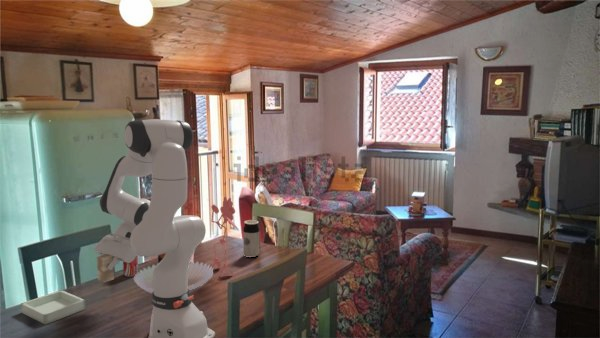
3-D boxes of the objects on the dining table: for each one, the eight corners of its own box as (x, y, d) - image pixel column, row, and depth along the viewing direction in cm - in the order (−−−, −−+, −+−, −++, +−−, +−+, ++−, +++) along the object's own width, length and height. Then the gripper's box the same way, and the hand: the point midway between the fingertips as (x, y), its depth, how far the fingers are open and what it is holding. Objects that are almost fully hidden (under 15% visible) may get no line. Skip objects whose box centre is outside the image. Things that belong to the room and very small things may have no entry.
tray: (85, 308, 168) (85, 300, 168) (45, 324, 156) (44, 314, 155) (62, 298, 177) (61, 290, 177) (21, 312, 165) (20, 303, 164)
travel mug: (252, 252, 238) (253, 219, 235) (262, 256, 232) (262, 222, 229) (240, 255, 232) (240, 221, 230) (249, 259, 227) (249, 224, 224)
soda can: (133, 277, 200) (132, 251, 198) (120, 276, 201) (119, 250, 199) (140, 272, 206) (140, 247, 204) (128, 271, 207) (127, 246, 205)
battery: (162, 270, 209) (162, 249, 208) (157, 266, 215) (157, 246, 213) (171, 268, 212) (171, 248, 210) (167, 264, 217) (166, 244, 216)
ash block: (113, 279, 171) (112, 256, 170) (104, 282, 168) (103, 258, 167) (107, 277, 173) (106, 254, 172) (97, 280, 170) (96, 256, 169)
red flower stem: (225, 283, 195) (227, 203, 191) (201, 266, 216) (202, 193, 212) (256, 277, 204) (258, 200, 200) (231, 261, 225) (232, 191, 221)
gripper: (103, 228, 180) (81, 258, 173) (136, 235, 169) (114, 268, 162) (114, 236, 184) (93, 266, 177) (147, 244, 173) (126, 276, 166)
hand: (103, 267), depth 169 cm, fingers closed on ash block, 4 cm apart
